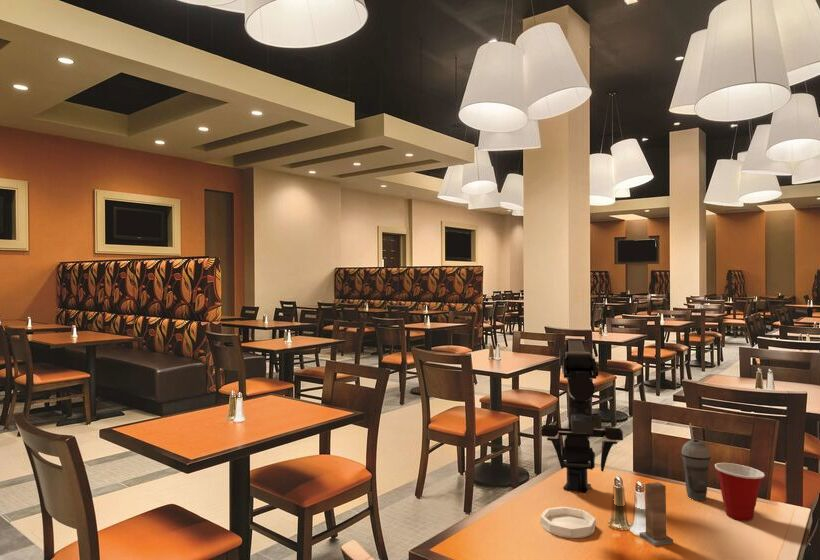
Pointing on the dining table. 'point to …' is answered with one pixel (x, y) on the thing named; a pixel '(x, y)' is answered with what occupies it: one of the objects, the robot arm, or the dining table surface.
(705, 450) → the beverage cup
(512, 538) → the dining table surface
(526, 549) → the dining table surface
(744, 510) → the plastic cup
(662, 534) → the brown tall rectangular block
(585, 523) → the saucer
